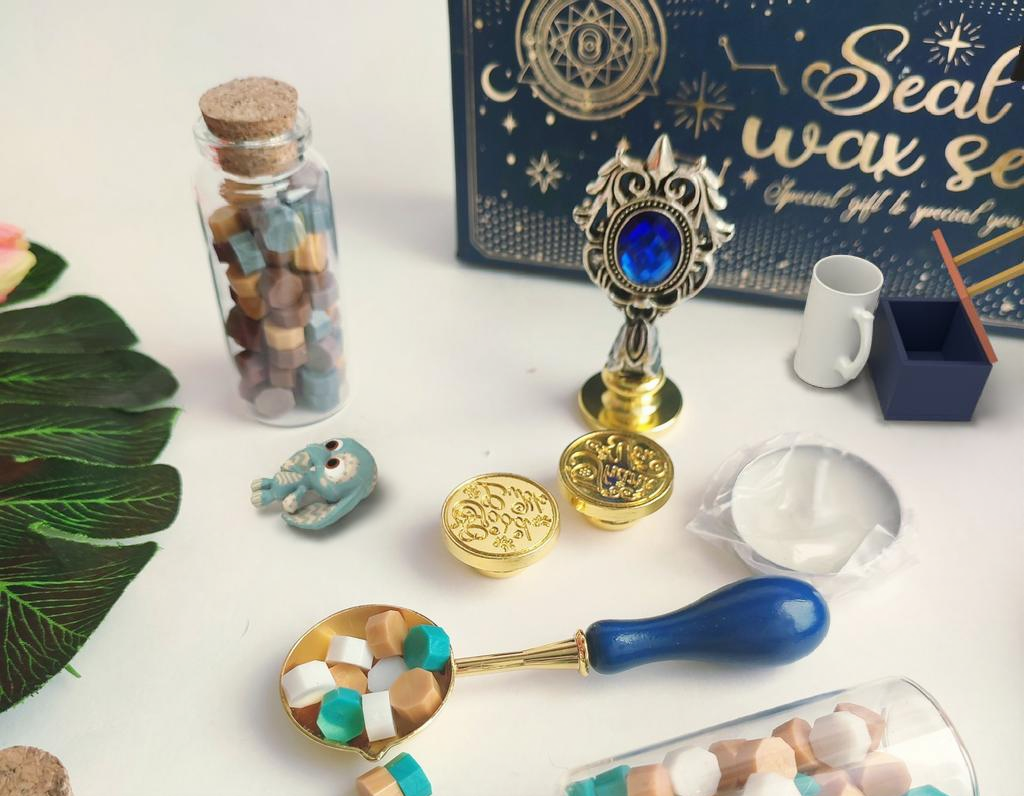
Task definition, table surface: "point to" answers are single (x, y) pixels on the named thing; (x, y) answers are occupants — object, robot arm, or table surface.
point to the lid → (980, 287)
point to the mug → (837, 321)
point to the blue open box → (926, 359)
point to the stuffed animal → (320, 482)
